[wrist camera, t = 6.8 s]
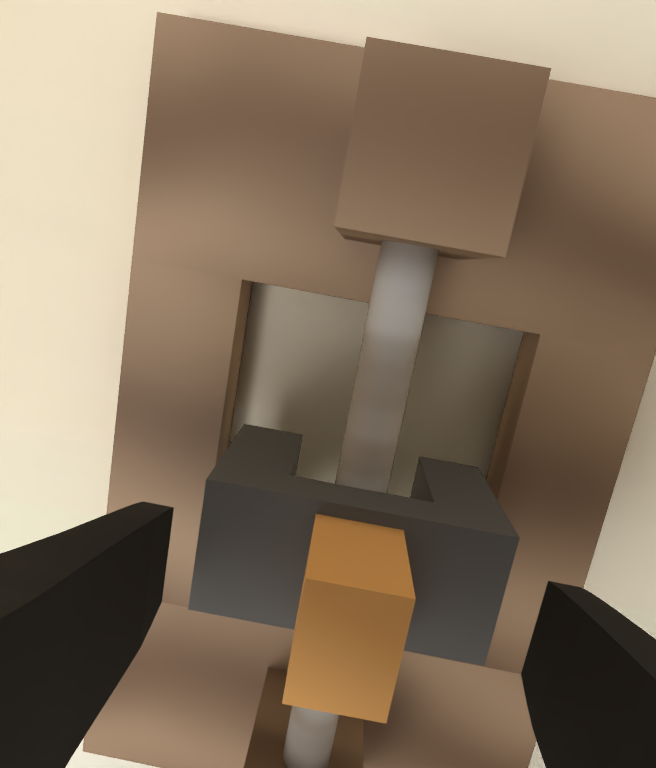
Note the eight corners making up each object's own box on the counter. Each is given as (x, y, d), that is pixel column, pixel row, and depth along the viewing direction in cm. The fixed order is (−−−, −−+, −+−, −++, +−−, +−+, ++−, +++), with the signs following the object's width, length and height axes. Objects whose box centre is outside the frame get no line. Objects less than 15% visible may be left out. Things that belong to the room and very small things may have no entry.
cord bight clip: (453, 566, 16) (515, 764, 10) (229, 524, 16) (147, 693, 10) (477, 467, 15) (562, 609, 9) (244, 423, 15) (167, 534, 9)
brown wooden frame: (495, 796, 20) (556, 1050, 13) (103, 715, 20) (-19, 923, 14) (694, 125, 15) (936, 23, 9) (177, 36, 15) (43, -126, 9)
